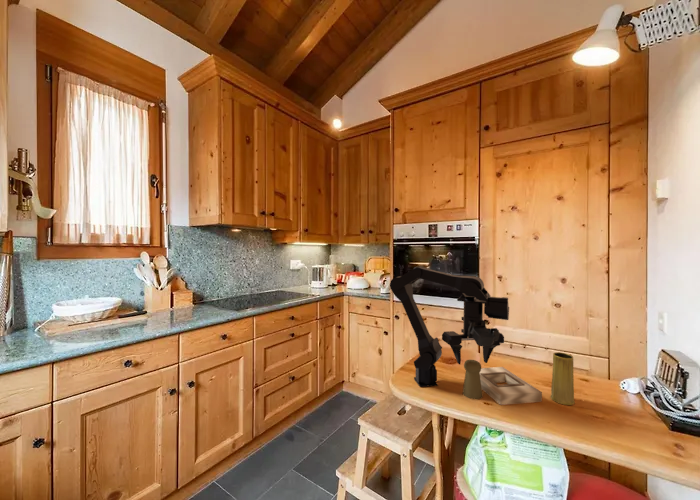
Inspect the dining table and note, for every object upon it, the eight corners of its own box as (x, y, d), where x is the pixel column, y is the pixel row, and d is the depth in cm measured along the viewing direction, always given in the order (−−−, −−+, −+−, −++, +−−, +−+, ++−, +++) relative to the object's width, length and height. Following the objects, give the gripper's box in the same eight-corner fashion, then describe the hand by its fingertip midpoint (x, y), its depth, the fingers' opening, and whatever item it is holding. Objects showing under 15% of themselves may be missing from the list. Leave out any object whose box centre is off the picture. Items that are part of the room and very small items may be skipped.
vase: (570, 397, 95) (571, 353, 94) (578, 407, 89) (578, 360, 88) (548, 394, 97) (548, 350, 96) (554, 403, 91) (554, 357, 90)
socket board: (500, 404, 90) (500, 394, 90) (467, 376, 109) (467, 368, 109) (541, 401, 92) (541, 391, 92) (502, 374, 111) (502, 365, 111)
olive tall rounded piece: (485, 399, 93) (486, 364, 93) (466, 399, 93) (466, 364, 93) (477, 389, 99) (478, 357, 99) (459, 389, 99) (460, 357, 99)
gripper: (458, 323, 87) (457, 376, 87) (516, 321, 89) (515, 372, 89) (441, 314, 98) (441, 361, 98) (493, 312, 100) (493, 358, 101)
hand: (472, 363), depth 96 cm, fingers open, 9 cm apart
